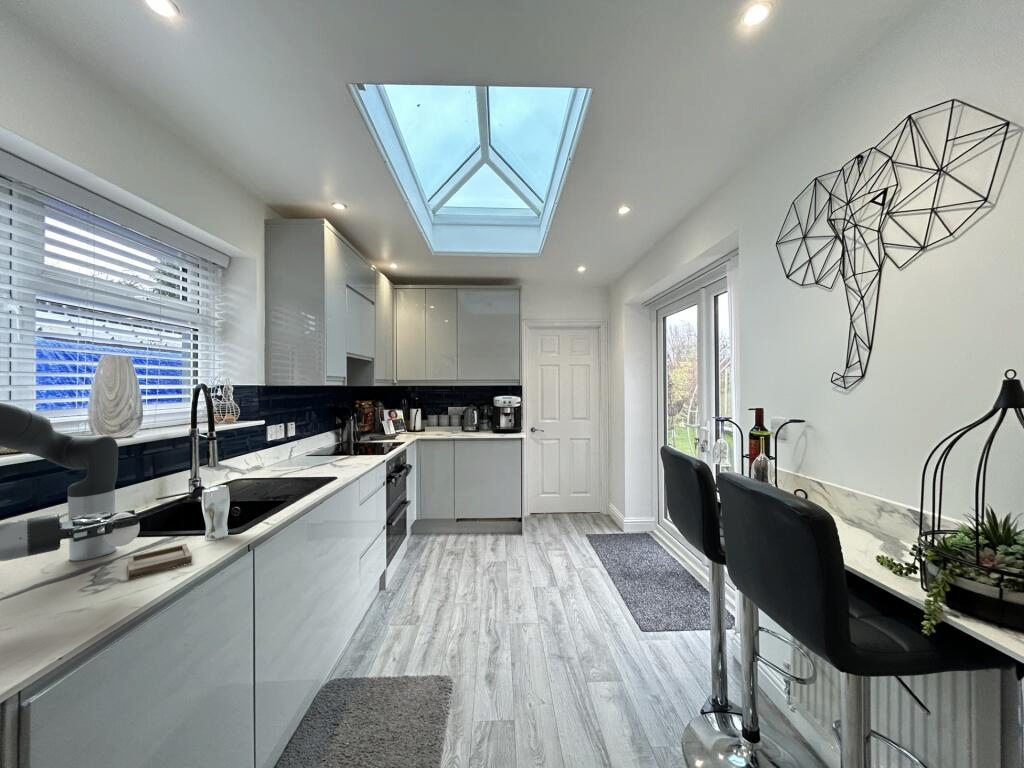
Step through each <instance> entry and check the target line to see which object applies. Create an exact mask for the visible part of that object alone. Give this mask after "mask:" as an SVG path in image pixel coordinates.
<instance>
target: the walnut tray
mask: <svg viewBox="0 0 1024 768" xmlns="http://www.w3.org/2000/svg"><path fill="white" fill-rule="evenodd" d="M127 562H128V563H127V566H128V567H127V569H128V571H127V572H128V580H131V579H135V578H138V576H139V577H143V576H147V575H151V574H155V573H157V572H158V571H159V572H163V571H167V570H170V569H169V568H171V569H174V568H173V567H175V568H178V567H177V566H179V567H182V566H181V565H183V566H185V565H184V564H187V565H190V564H189V563H191V564H192V553H191V552H190V549H189V547H188V545H187V543H183V544H179V545H174V546H170V547H166V548H161V549H158V550H157V549H156V550H151V551H148V552H144V553H138V554H134V555H131V556H127ZM166 569H167V570H166ZM154 572H155V573H154ZM159 572H158V573H159ZM142 575H143V576H142ZM134 577H135V578H134ZM130 578H131V579H130Z"/></svg>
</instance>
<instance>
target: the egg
mask: <svg viewBox="0 0 1024 768" xmlns="http://www.w3.org/2000/svg"><path fill="white" fill-rule="evenodd" d="M127 516H132V514H130V513H127V512H122V513H118V514H116V515H114V516H113V517H112V518H111V519H116V518H121V517H127ZM140 527H141V526H140V522H139V523H138V524H137V525H134V526H129V527H124V528H119V529H116V530H115V531H113V533H110V534H106V535H104V539H105V541H106V542H107V543H109V544H110V545H112V546H116V547H123V546H127V545H128V544H130V543H131V542H133V541H134V540H135V539H136V538H137V537H138V535H139V533H140V529H141V528H140ZM104 529H105V528H104Z"/></svg>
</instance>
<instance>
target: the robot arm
mask: <svg viewBox="0 0 1024 768" xmlns="http://www.w3.org/2000/svg"><path fill="white" fill-rule="evenodd" d="M53 427H54V426H53V425H52V423H51V421H50V420H49V419H48V418H47V417H45V416H44V415H41V414H39V413H38V412H36V411H33V410H30V409H28V408H26V407H23V406H20V405H17V404H12V403H9V402H4V401H0V447H2V448H6V449H11V450H14V451H18V452H21V453H25V454H28V455H33V456H36V457H39V458H42V459H44V460H46V461H49V462H51V463H54V464H56V465H57V466H61V467H62V468H66V469H70V470H87V472H86V473H87V474H86V477H85V478H84V479H81V480H80V481H77V482H74V483H72V484H70V485H69V486H68V488H67V507H68V508H67V509H68V511H67V512H68V514H67V515H68V516H67V517H68V521H64V522H60V518H61V517H60V514H58V513H55V514H49V515H48V514H47V515H43V516H41V515H40V516H36V517H31V518H30V517H29V518H24V519H19V520H18V519H17V520H13V521H8V522H3V523H0V562H7V561H12V560H17V559H21V558H27V557H32V556H36V555H42V554H44V553H50V552H51V553H52V552H54V551H57V550H58V551H59V549H61V541H62V540H66V539H67V540H68V559H69V560H70V561H73V562H75V561H76V562H79V561H87V560H91V559H95V558H99V557H104V556H105V555H106V554H107V555H108V554H111V553H114V552H115V551H117V546H112V545H110V544H109V543H107V542H106V541H105V539H104V535H106V534H110V533H113V531H115V530H116V529H119V528H124V527H129V526H134V525H137V524H138V523H139V524H140V521H139V519H140V518H139V515H138V514H136V511H135V510H134V509H128V510H123V511H116V489H115V487H116V482H117V479H118V472H119V471H118V468H119V446H118V443H117V440H116V439H115V438H114V437H113V436H111V435H107V434H106V435H105V434H104V435H103V434H102V435H101V434H99V435H98V434H95V435H70V434H67V433H62V432H59V431H57V430H55V429H54V428H53ZM122 512H127V513H130V514H132V516H127V517H121V518H116V519H111V518H112V517H113V516H114V515H116V514H118V513H122ZM104 528H105V529H104ZM103 555H104V556H103Z"/></svg>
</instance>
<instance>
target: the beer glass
mask: <svg viewBox="0 0 1024 768" xmlns="http://www.w3.org/2000/svg"><path fill="white" fill-rule="evenodd" d="M201 493H202V494H201V509H202V514H203V518H204V523H205V535H204V541H217V540H221V539H224V538H227V537H228V536H229V535H228V532H229V529H228V517H229V510H230V506H231V505H230V504H231V503H230V502H231V501H230V499H231V498H230V490H229V486H228V485H217V486H214V485H213V486H209V487H206V488H203V489H202V491H201ZM227 530H228V531H227ZM227 535H228V536H227ZM226 536H227V537H226ZM223 537H224V538H223ZM220 538H221V539H220ZM216 539H217V540H216Z"/></svg>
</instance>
